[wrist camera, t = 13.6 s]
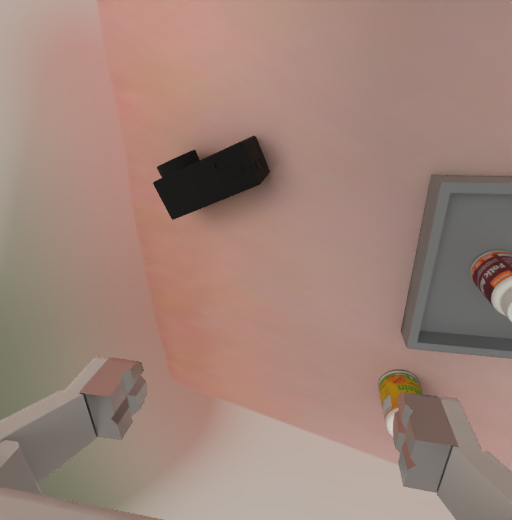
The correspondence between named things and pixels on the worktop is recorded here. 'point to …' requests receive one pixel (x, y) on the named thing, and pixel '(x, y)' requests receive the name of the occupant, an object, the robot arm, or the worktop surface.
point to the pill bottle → (495, 279)
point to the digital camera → (210, 177)
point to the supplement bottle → (395, 392)
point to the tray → (459, 267)
